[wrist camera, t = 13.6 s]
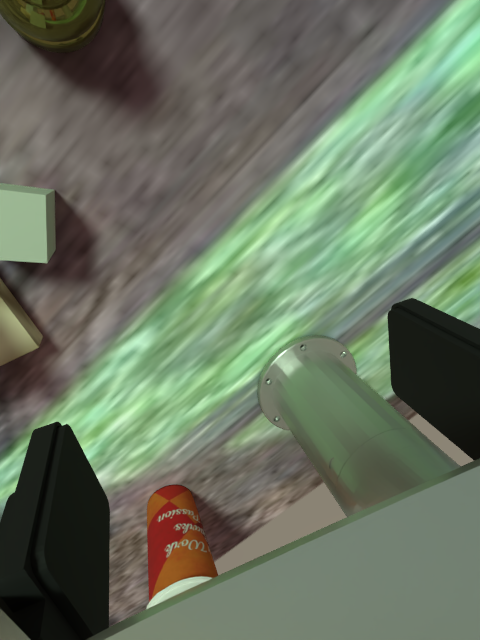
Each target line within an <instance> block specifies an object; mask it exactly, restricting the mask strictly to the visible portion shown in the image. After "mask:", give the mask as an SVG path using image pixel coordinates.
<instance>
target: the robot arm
mask: <svg viewBox="0 0 480 640" xmlns="http://www.w3.org/2000/svg"><path fill="white" fill-rule="evenodd" d="M388 331H389V350H390V369H391V385H392V389H393V391H394V392H395V394H396V395H397V396H398V397H399V398H400V399H401V400H403V401H404V402H405V403H406V404H407V405H409V406H410V407H411V408H412V409H413V410H415V411H416V412H417V413H418V414H419V415H421V416H422V417H423V418H424V419H425V420H427V421H428V422H429V423H430V424H431V425H432V426H434V427H435V428H436V429H437V430H439V431H440V432H441V433H442V434H443V435H445V436H446V437H447V438H448V439H449V440H450V441H452V442H453V443H454V444H455V445H456V446H458V447H459V448H460V449H461V450H462V451H464V452H465V453H466V454H467V455H468V456H470V457H471V458H472V459H473V460H474V461H473V462H470V463H468V464H466V465H464V466H460V465H458V464H457V463H456V462H455V461H454V460H452V459H451V458H450V457H449V456H448V455H447V454H445V453H444V452H443V451H442V450H441V449H440V448H438V447H437V446H436V445H435V444H434V443H433V442H432V441H431V440H429V439H428V438H427V437H426V436H425V435H424V434H422V433H421V432H420V431H419V430H418V429H417V428H416V427H415V426H414V425H413V424H411V423H410V422H409V421H408V420H407V419H406V418H405V417H404V416H402V415H401V414H400V413H399V412H398V411H397V410H396V409H395V408H393V407H392V406H391V405H390V404H389V403H388V402H387V401H386V400H384V399H383V398H382V397H381V396H380V395H379V394H378V393H377V392H375V391H374V390H373V389H372V388H371V387H370V386H369V385H368V384H366V383H365V382H364V381H363V380H362V379H361V378H360V377H358V376H357V375H356V365H355V361H354V359H353V356H352V354H351V353H350V352H349V350H348V349H347V348H346V347H345V346H344V345H342V344H341V343H340V342H338V341H336V340H335V339H333V338H330V337H326V336H319V335H314V336H306V337H303V338H299V339H296V340H294V341H292V342H290V343H288V344H287V345H285V346H284V347H282V348H281V349H280V350H278V351H277V352H276V353H275V354H274V355H273V356H272V357H271V359H270V360H269V361H268V363H267V364H266V365H265V367H264V369H263V371H262V373H261V375H260V379H259V382H258V389H257V395H258V402H259V405H260V407H261V410H262V411H263V413H264V415H265V416H266V417H267V419H268V420H269V421H270V422H271V423H273V424H274V425H275V426H277V427H279V428H282V429H285V430H290V431H291V432H292V434H293V435H294V437H295V438H296V440H297V441H298V443H299V444H300V446H301V447H302V449H303V450H304V452H305V454H306V455H307V457H308V458H309V460H310V461H311V463H312V464H313V466H314V467H315V469H316V470H317V472H318V473H319V475H320V477H321V478H322V480H323V481H324V483H325V484H326V485H327V487H328V489H329V490H330V492H331V493H332V495H333V496H334V498H335V500H336V501H337V502H338V504H339V506H340V507H341V509H342V510H343V512H344V513H345V515H346V516H347V518H345V519H342V520H340V521H338V522H336V523H333V524H331V525H329V526H327V527H324V528H322V529H320V530H318V531H316V532H313V533H311V534H309V535H307V536H304V537H303V538H300V539H298V540H296V541H294V542H291V543H289V544H287V545H285V546H282V547H280V548H278V549H276V550H274V551H271V552H269V553H267V554H265V555H263V556H260V557H258V558H256V559H254V560H252V561H249V562H247V563H245V564H243V565H241V566H239V567H236V568H234V569H232V570H230V571H228V572H225V573H223V574H221V575H219V576H216V577H214V578H212V579H210V580H208V581H205V582H203V583H201V584H199V585H197V586H195V587H192V588H190V589H188V590H186V591H184V592H182V593H180V594H178V595H175V596H173V597H171V598H169V599H167V600H165V601H163V602H161V603H159V604H157V605H154V606H152V607H150V608H148V609H146V610H144V611H142V612H140V613H138V614H135V615H133V616H131V617H129V618H127V619H125V620H123V621H121V622H119V623H117V624H115V625H113V626H111V627H109V525H110V509H109V503H108V499H107V496H106V494H105V492H104V490H103V489H102V487H101V485H100V483H99V481H98V479H97V477H96V475H95V473H94V471H93V469H92V467H91V465H90V464H89V462H88V460H87V458H86V456H85V454H84V452H83V450H82V448H81V446H80V444H79V442H78V440H77V439H76V437H75V435H74V433H73V431H72V429H71V427H70V426H69V425H68V424H66V425H63V426H62V425H61V424H60V423H59V422H55V423H52V424H49V425H46V426H43V427H41V428H38V429H35V430H34V431H33V433H32V436H31V439H30V443H29V446H28V450H27V453H26V457H25V460H24V463H23V467H22V470H21V474H20V477H19V481H18V484H17V487H16V491H15V493H13V494H11V495H10V496H9V498H8V500H7V502H6V506H5V509H4V512H3V515H2V519H1V522H0V640H480V329H478V328H476V327H474V326H472V325H470V324H468V323H466V322H463V321H461V320H459V319H457V318H455V317H453V316H451V315H448V314H446V313H444V312H442V311H440V310H438V309H436V308H433V307H431V306H429V305H427V304H425V303H423V302H421V301H418V300H416V299H413V298H411V299H407V300H405V301H402V302H399V303H396V304H394V305H393V306H392V308H391V311H389V312H388Z"/></svg>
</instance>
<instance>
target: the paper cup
mask: <svg viewBox="0 0 480 640" xmlns="http://www.w3.org/2000/svg"><path fill="white" fill-rule="evenodd" d="M147 536H148V576H149V604H148V606H147V609H148V608H150V607H152V606H154V605H157V604H159V603H161V602H163V601H165V600H167V599H169V598H171V597H173V596H175V595H178V594H180V593H182V592H184V591H186V590H188V589H190V588H192V587H195V586H197V585H199V584H201V583H203V582H205V581H208V580H210V579H212V578H214V577H216V576H218V574H217V570H216V567H215V564H214V561H213V558H212V554H211V551H210V548H209V545H208V542H207V539H206V535H205V532H204V529H203V526H202V523H201V520H200V517H199V514H198V511H197V507H196V504H195V502H194V499H193V496H192V494H191V492H190V490H189V489H187V488H186V487H184V486H181V485H169V486H165V487H163V488H160V489H159V490H157V491H156V492H155V493H154V494H153V495H152V496H151V497H150V499H149V501H148V506H147Z"/></svg>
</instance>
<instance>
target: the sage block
mask: <svg viewBox="0 0 480 640" xmlns="http://www.w3.org/2000/svg"><path fill="white" fill-rule="evenodd" d="M55 250H56V236H55V190H51V189H43V188H35V187H27V186H19V185H11V184H3V183H0V260H7V261H21V262H36V263H48V261H49V260H50V258H51V256H52V255H53V253H54V252H55Z"/></svg>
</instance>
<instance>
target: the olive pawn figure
mask: <svg viewBox="0 0 480 640" xmlns="http://www.w3.org/2000/svg"><path fill="white" fill-rule="evenodd" d="M104 6H105V0H0V14H1V15H2V17H3V18H4V19H5V20H6V21H7V23H8V24H9V25H10V26H11V27H12V28H13V29H14V30H15V31H16V32H17V33H18V34H19V35H21V36H22V37H23V38H24V39H26V40H27V41H28V42H30V43H31V44H33V45H35V46H37V47H39V48H41V49H44V50H47V51H51V52H57V53H67V52H73V51H76V50H79V49H81V48H83V47H85V46H86V45H87V44H89V43H90V42H91V41H92V40H93V39H94V37H95V36H96V34H97V33H98V31H99V29H100V27H101V24H102V21H103V16H104Z"/></svg>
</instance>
